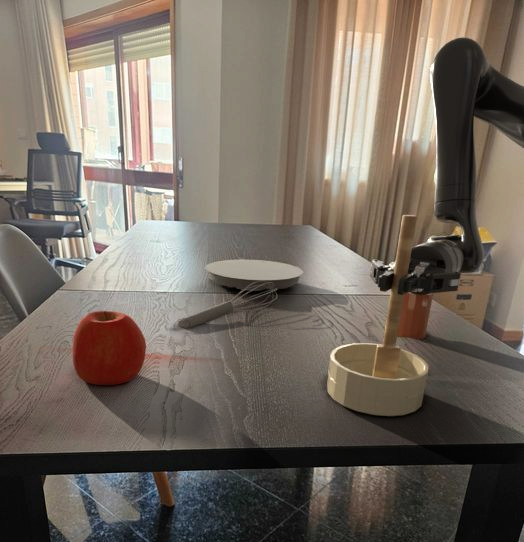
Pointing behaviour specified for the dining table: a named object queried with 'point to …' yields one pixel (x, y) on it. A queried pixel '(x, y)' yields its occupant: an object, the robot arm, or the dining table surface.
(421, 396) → the mixing bowl
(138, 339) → the apple
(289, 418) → the dining table surface
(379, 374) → the wooden stick
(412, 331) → the crock
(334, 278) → the dining table surface
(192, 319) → the kitchen whisk
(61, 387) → the dining table surface
